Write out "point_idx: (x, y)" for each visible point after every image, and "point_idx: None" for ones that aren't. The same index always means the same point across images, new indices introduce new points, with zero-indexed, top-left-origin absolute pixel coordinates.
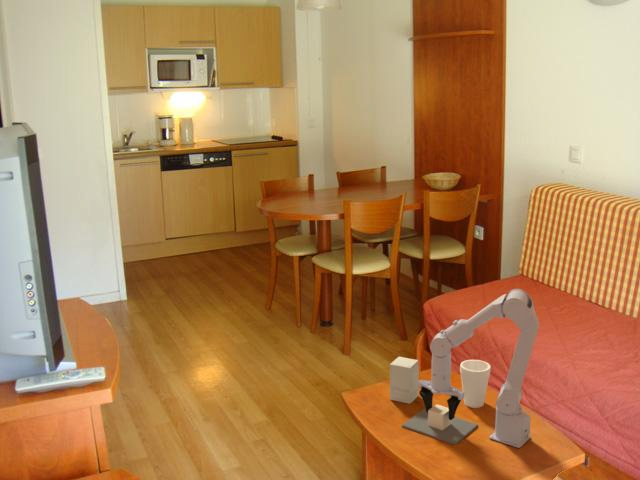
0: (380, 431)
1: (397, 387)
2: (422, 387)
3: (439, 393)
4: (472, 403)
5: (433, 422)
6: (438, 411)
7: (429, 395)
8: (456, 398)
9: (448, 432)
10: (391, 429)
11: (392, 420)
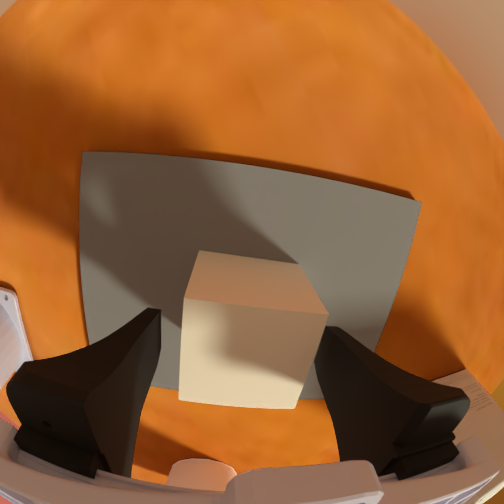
0: (468, 120)
1: (476, 408)
2: (452, 456)
3: (215, 492)
4: (191, 470)
5: (266, 271)
6: (244, 334)
7: (366, 432)
8: (29, 438)
9: (159, 245)
10: (444, 154)
11: (457, 239)
